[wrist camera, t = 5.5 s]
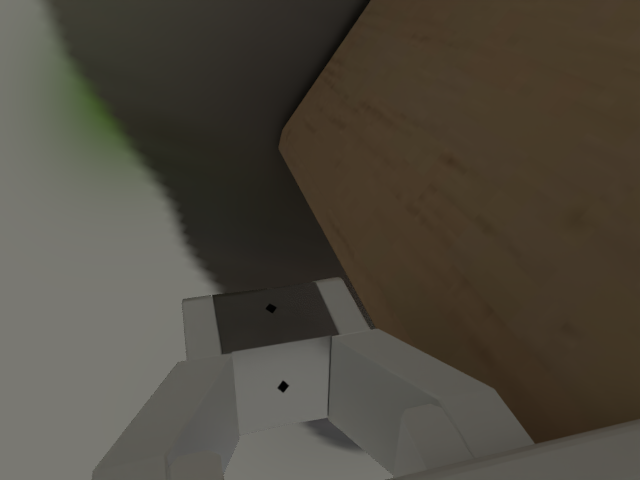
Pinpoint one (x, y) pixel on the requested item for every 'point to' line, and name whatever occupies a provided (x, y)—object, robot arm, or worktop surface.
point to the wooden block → (490, 193)
